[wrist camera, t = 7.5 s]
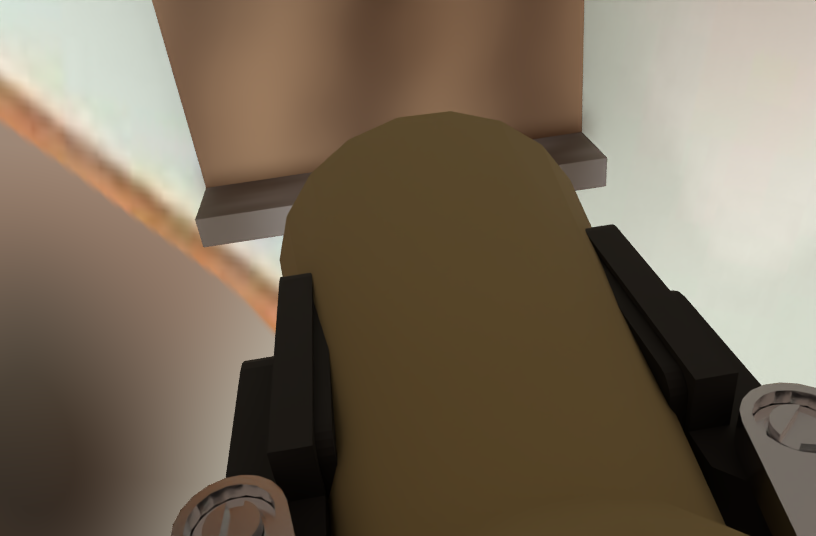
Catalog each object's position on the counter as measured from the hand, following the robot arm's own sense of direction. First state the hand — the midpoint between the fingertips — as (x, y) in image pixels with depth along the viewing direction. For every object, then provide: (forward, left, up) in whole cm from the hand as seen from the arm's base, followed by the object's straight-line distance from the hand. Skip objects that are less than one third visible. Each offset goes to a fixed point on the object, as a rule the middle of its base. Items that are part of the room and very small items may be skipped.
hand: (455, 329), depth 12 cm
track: (0, 0, -19) cm, 19 cm away
